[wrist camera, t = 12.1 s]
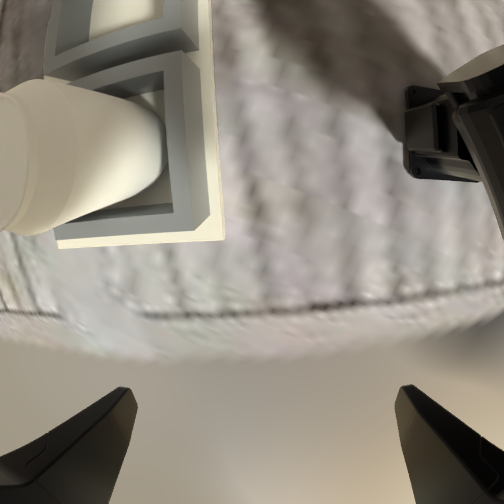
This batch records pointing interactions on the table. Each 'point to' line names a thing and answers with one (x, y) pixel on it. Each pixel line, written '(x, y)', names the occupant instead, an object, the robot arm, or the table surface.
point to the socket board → (156, 99)
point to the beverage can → (72, 153)
